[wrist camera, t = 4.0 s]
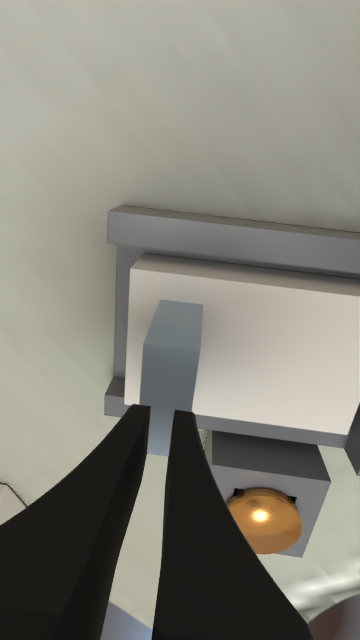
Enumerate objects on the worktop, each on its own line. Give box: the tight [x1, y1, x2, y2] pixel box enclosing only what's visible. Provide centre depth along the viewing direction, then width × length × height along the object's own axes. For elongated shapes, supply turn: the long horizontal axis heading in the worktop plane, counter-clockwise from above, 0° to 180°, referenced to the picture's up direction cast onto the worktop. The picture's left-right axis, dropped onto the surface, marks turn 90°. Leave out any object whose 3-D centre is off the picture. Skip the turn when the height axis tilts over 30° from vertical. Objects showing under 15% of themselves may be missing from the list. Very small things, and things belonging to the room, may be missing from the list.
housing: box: [104, 205, 360, 558], centre depth 20 cm, size 16×19×5 cm
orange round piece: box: [226, 488, 302, 554], centre depth 22 cm, size 4×4×4 cm
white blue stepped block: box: [124, 253, 360, 457], centre depth 16 cm, size 12×8×8 cm, turn 84°
